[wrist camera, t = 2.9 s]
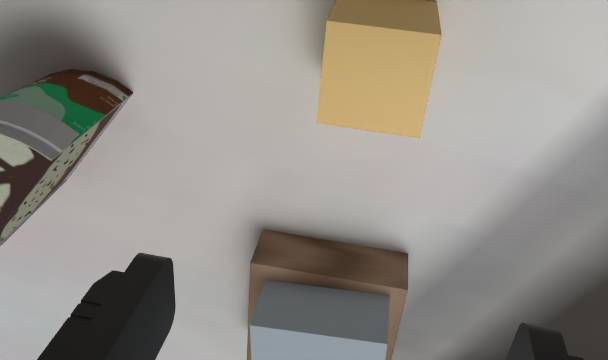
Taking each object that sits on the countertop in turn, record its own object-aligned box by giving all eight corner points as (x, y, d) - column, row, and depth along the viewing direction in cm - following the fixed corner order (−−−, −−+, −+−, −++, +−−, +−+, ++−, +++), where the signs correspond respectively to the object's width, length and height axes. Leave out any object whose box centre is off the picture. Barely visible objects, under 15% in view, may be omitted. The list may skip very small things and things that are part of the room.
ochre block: (331, 79, 32) (316, 123, 27) (341, -10, 29) (326, 20, 24) (419, 91, 32) (419, 138, 27) (436, 1, 29) (441, 34, 24)
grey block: (267, 364, 40) (254, 412, 37) (265, 279, 36) (249, 325, 33) (378, 380, 39) (375, 431, 36) (389, 295, 35) (387, 344, 32)
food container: (61, 5, 33) (-63, 61, 24) (145, 76, 34) (57, 153, 26) (-18, 137, 38) (-140, 219, 30) (57, 192, 40) (-39, 286, 31)
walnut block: (259, 327, 44) (246, 367, 41) (264, 226, 39) (250, 262, 35) (385, 350, 43) (383, 394, 40) (408, 250, 38) (407, 290, 34)
